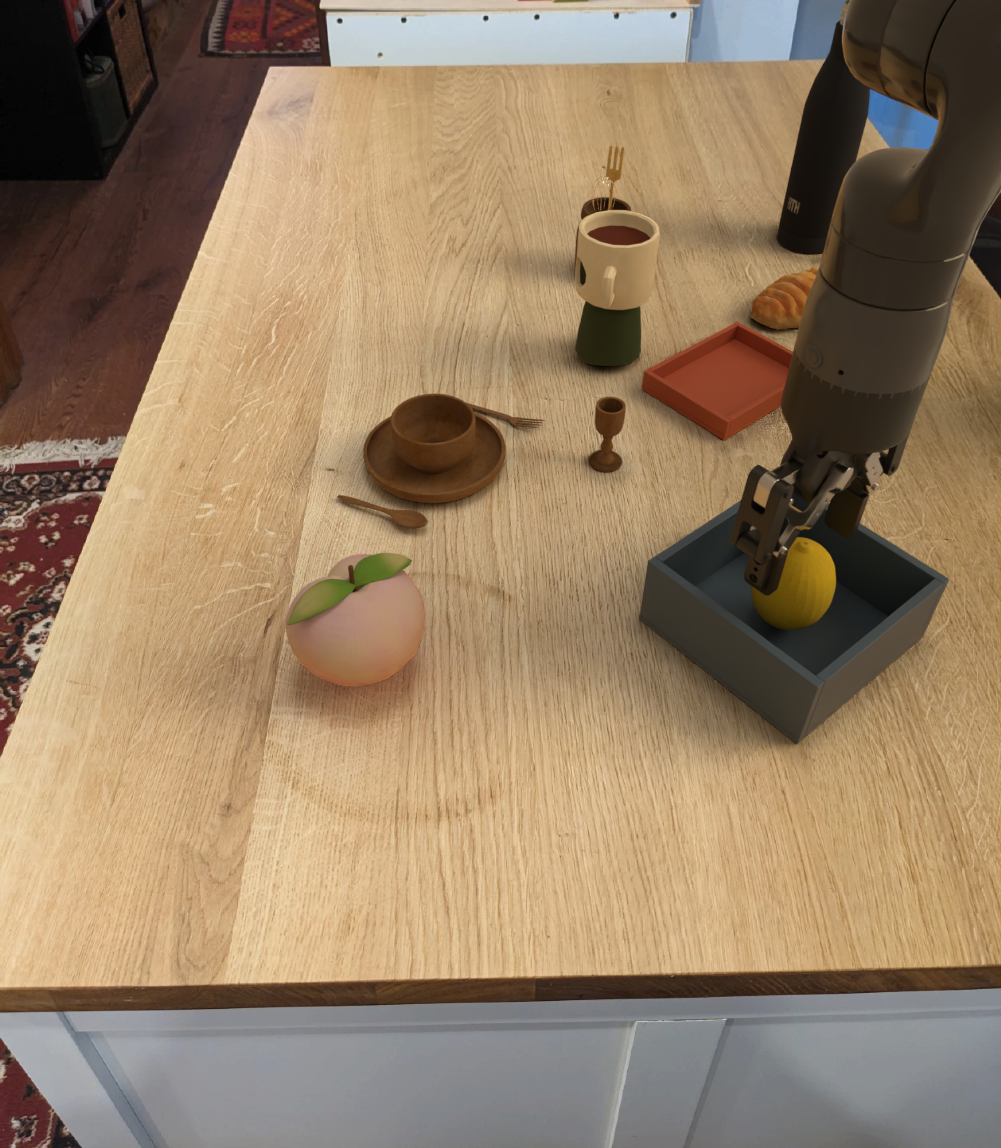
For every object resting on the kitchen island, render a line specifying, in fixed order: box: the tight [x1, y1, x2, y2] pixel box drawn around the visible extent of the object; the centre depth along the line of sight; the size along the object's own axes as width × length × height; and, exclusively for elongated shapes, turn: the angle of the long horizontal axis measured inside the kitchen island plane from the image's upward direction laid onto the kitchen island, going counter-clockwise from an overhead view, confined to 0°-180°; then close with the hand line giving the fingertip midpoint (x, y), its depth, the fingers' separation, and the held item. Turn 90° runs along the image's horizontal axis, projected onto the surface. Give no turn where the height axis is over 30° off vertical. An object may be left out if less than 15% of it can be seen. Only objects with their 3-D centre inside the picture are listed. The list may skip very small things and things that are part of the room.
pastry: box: [749, 266, 819, 331], centre depth 102 cm, size 9×7×4 cm
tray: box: [641, 321, 793, 441], centre depth 94 cm, size 13×10×2 cm
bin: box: [638, 493, 950, 745], centre depth 71 cm, size 14×14×6 cm
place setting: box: [336, 393, 627, 529], centre depth 83 cm, size 18×20×6 cm
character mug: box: [574, 210, 660, 367], centre depth 93 cm, size 11×7×13 cm, turn 166°
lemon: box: [751, 537, 836, 630], centre depth 70 cm, size 6×6×8 cm
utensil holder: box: [574, 145, 632, 269], centre depth 105 cm, size 6×6×12 cm
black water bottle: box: [776, 0, 871, 255], centre depth 103 cm, size 6×6×30 cm
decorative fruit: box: [285, 552, 426, 687], centre depth 67 cm, size 9×8×10 cm
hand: (800, 557), depth 68 cm, fingers open, 8 cm apart
